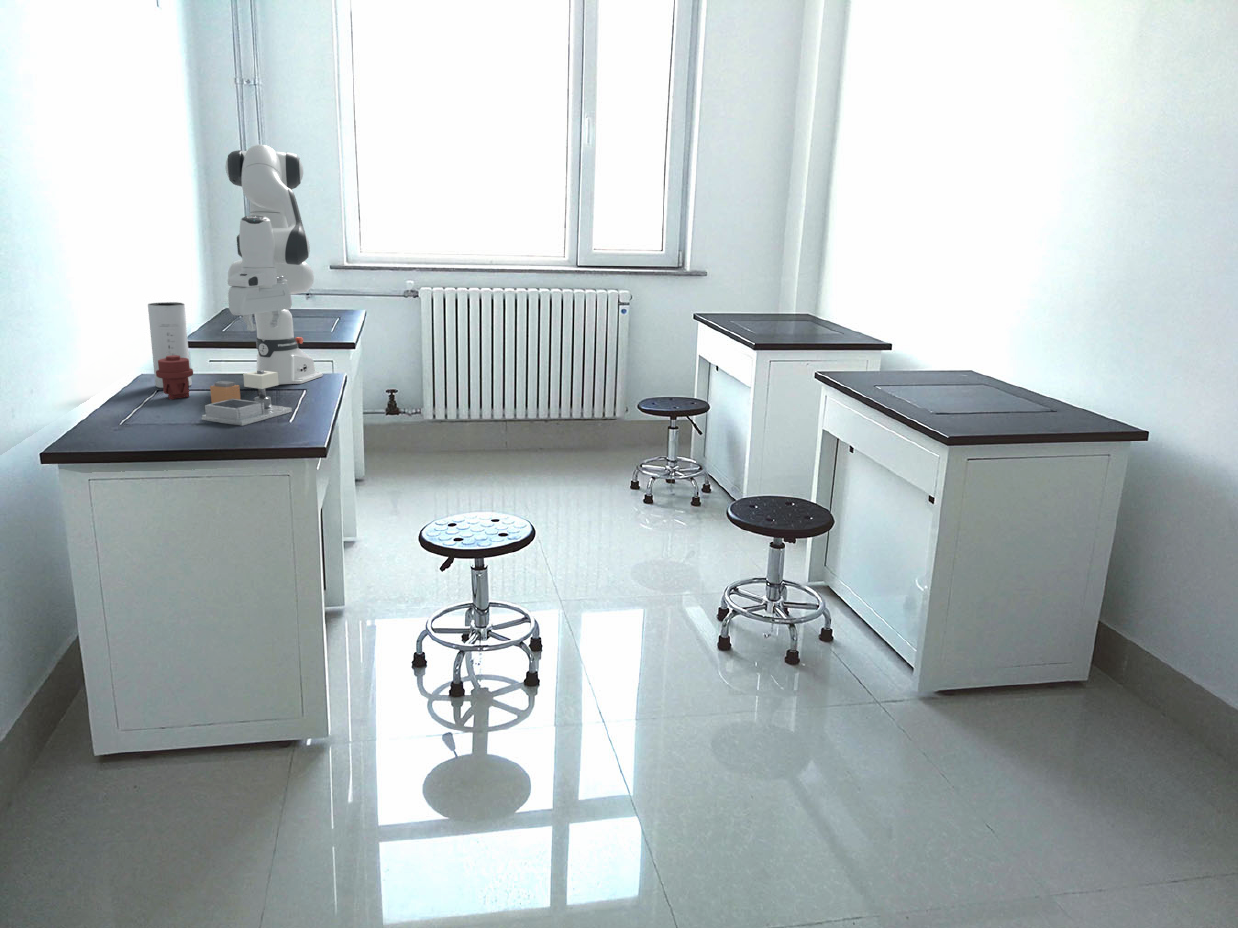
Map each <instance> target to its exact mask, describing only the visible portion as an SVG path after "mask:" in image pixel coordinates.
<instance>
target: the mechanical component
mask: <svg viewBox="0 0 1238 928" xmlns="http://www.w3.org/2000/svg"><path fill="white" fill-rule="evenodd" d="M189 362H190V358H189V359H187V358H180V356H179V355H170V356H166V358H164V359H160V360H158V367H159V370H157V371H156V376H157V377H158V378H162V381H163V388H162V389H163V390H162V391H163V394H165V395H168V400H177V399H185V398H189V397H190V386H189V381H188V377H190V376H191V377H192V376H193V375H194V370H193V368H191V365H190V366H189Z"/></svg>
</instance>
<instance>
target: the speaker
mask: <svg viewBox="0 0 1238 928" xmlns="http://www.w3.org/2000/svg"><path fill="white" fill-rule="evenodd" d="M147 309H148V321H149V329H150V330H149V331H150V343H151V344H150V345H151V353H152V363H153V373H154V374H153V375H154V384H155V387H156V388H157V389H163V381H162V378H158V377H157V376H156V371H157V370H159V367H158V360H160V359H164V358H166V356H170V355H179V356H180V358H187V359H189V360H190V353H189V352H190V351H189V342H188V333H187V331H188V330H187V328H188V327H187V319H186V307H185V303H183V302H178V301H177V302H175V301H173V302H171V301H170V302H169V301H168V302H152V303H148V304H147ZM190 364H191V363H190V361H189V366H190V367H191V365H190ZM188 381H189V387H190V386H191V385H192V376H190V377H188Z"/></svg>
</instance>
